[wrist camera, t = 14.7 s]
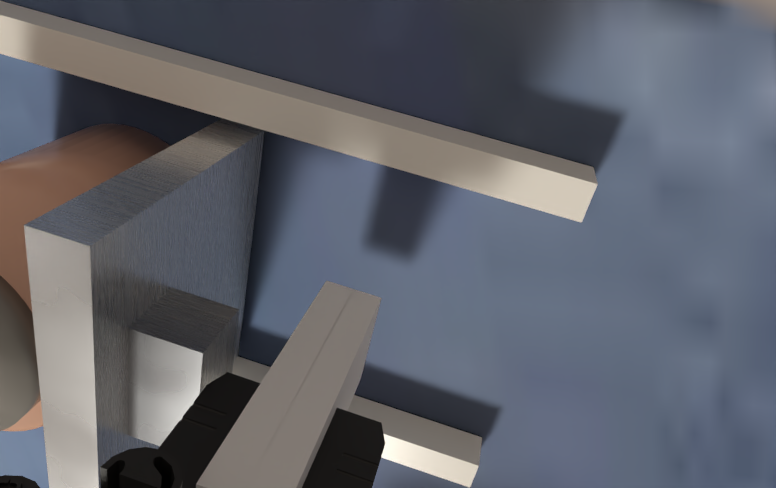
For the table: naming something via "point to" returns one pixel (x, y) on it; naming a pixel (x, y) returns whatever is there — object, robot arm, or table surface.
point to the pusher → (141, 297)
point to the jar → (8, 248)
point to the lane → (328, 130)
